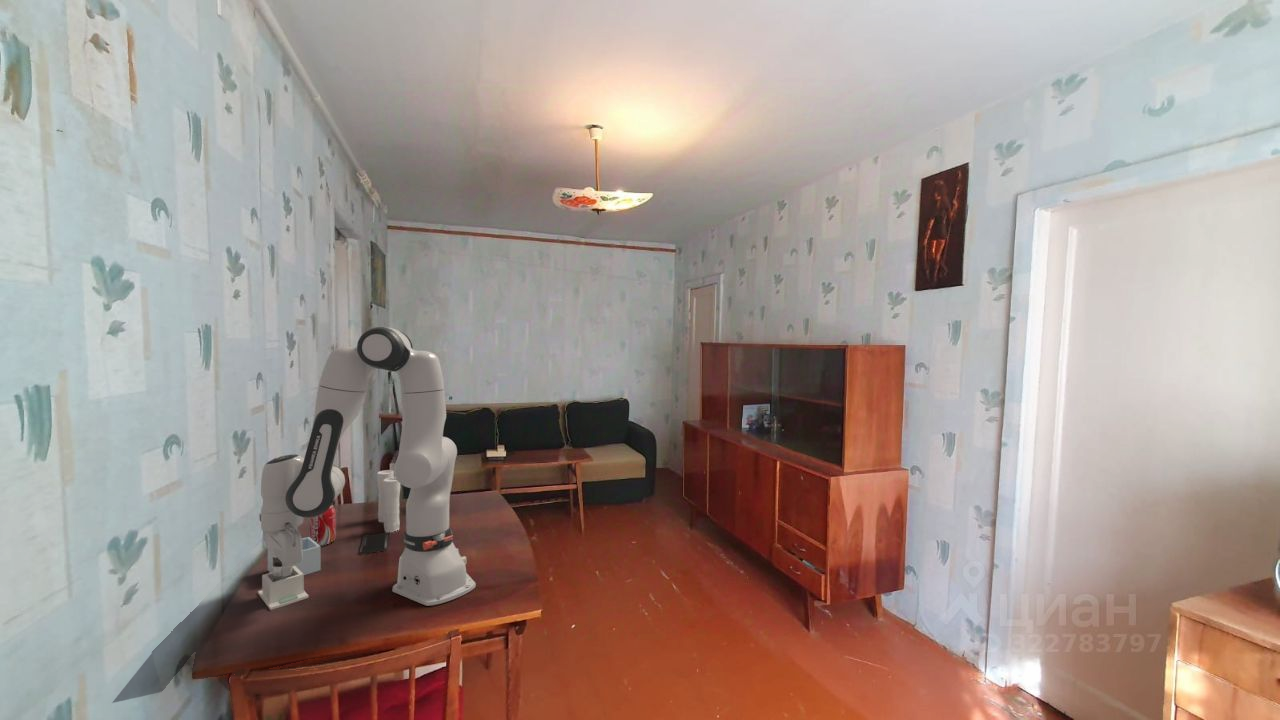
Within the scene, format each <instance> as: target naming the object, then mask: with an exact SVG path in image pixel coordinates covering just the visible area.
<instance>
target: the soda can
mask: <svg viewBox="0 0 1280 720" xmlns="http://www.w3.org/2000/svg"><path fill="white" fill-rule="evenodd" d="M336 529H337V514H336V509H335V507H334V504H332V505H331V506H330V508H329V509H328V510H327V511H326V512H324V513H323V514H321V515H319V516H316V517H309V537H310V538H311V539H312V540H314V541H315V542H316V543H317V544H318V545H320V546H321V547H324V546H328V545H330V544H331V542H332V543H333V542H334V541H335V540H336V535H337V534H336V533H337V530H336ZM327 544H328V545H327Z"/></svg>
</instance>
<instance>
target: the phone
mask: <svg viewBox="0 0 1280 720" xmlns="http://www.w3.org/2000/svg"><path fill="white" fill-rule="evenodd" d="M389 541H390V533H389V532H385V531H384V532H380V533H379V532H378V533H377V532H376V533H372V534H371V533H370V534H365V535H363V537H362V540H361V545H360V548H359V555H361V554H363V555H367V554H366V553H370V554H372V553H373V552H377V553H381V552H380V551H384V552H386V550H387V551H388V550H389Z"/></svg>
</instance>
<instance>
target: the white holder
mask: <svg viewBox="0 0 1280 720" xmlns="http://www.w3.org/2000/svg"><path fill="white" fill-rule="evenodd" d="M261 575H262V576H261V587H262V588H261V590H258V591H257V594H258V595H259V597H260V598H261V599H262V601H263V602H264V603H265V605H266V606H267V607H268V609H269V610H270V611H273V610H276V609H278V608H281V607H284V606H287V605H291V604H294V603H297V602H300V601H302V600H306V599H308V598H309V594H308V593H307V592H306V591H305V583H304V581H305V579H304V576H305V575H304V574H303V573H302V572H301V571H300V570H299V569H298V568H297V567H296V566H293V567H292V577H288V578H285V579H282V580H278V581H275V582H273V572H271V573H269V572H268V573H265V574H261Z"/></svg>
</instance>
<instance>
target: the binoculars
mask: <svg viewBox="0 0 1280 720" xmlns="http://www.w3.org/2000/svg"><path fill="white" fill-rule="evenodd" d="M376 476H377V477H376V478H377V480H376V481H377V482H376V483H377V488H378V496H377V498H378V502H377V505H378V509H377V510H378V513H377V518H378V522H379V523H383V528H384V532H385V531H386V532H390V533H395V532H394V531H396V532H398V531H399V530H400V523H401V520H400V506H401V505H400V493H401V484H400V483H399V482H398V481H397V479H396V477H395V474H394V470H392V469H386V470H380V471H377V473H376ZM397 530H398V531H397Z"/></svg>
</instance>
